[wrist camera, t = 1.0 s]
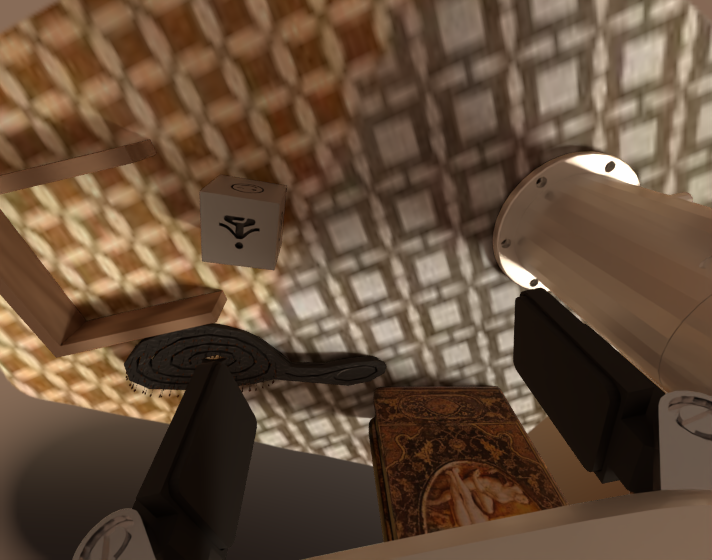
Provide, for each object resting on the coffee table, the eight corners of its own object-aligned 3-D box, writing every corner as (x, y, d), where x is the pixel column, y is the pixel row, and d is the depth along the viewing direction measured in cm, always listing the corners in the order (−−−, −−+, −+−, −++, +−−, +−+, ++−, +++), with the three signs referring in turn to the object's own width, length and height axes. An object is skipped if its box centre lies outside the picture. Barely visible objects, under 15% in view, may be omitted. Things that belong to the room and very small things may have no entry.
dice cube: (286, 185, 26) (279, 203, 22) (281, 243, 29) (274, 270, 24) (220, 174, 26) (199, 191, 21) (220, 235, 28) (202, 261, 24)
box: (150, 139, 24) (124, 146, 21) (226, 299, 31) (216, 322, 28) (-35, 183, 24) (-87, 196, 21) (82, 331, 31) (56, 357, 28)
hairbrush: (381, 410, 36) (127, 410, 31) (375, 385, 40) (143, 381, 35) (398, 352, 33) (112, 341, 28) (390, 329, 36) (131, 315, 31)
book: (507, 386, 40) (727, 738, 18) (494, 417, 42) (672, 756, 21) (371, 386, 38) (436, 780, 16) (366, 418, 41) (416, 794, 19)
